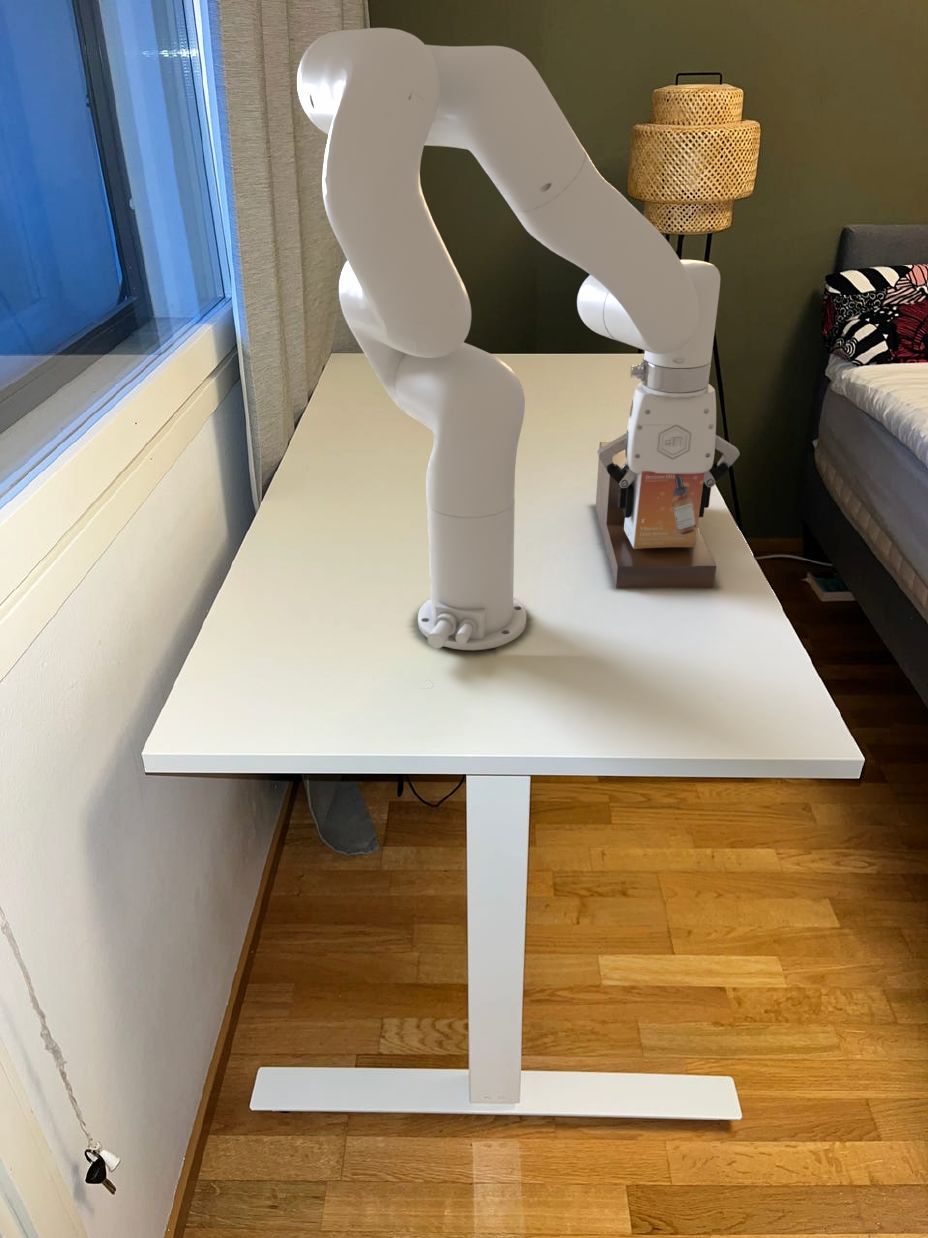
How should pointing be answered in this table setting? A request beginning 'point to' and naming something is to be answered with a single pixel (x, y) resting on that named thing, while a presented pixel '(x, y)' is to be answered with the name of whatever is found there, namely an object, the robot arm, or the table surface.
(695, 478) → the small box
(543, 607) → the table surface
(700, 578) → the step shelf
